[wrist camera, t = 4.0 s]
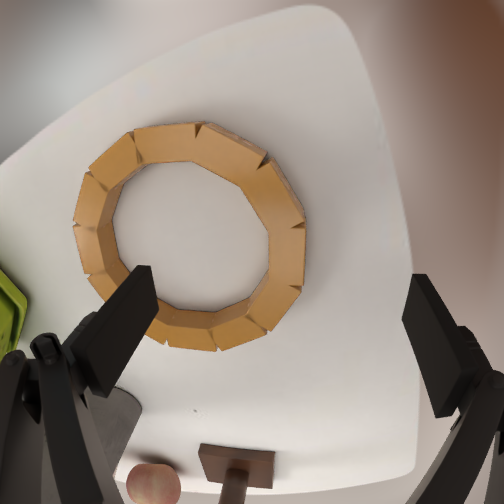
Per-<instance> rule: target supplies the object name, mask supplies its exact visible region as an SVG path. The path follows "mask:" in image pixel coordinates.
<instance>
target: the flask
mask: <svg viewBox="0 0 504 504" xmlns="http://www.w3.org/2000/svg"><path fill="white" fill-rule="evenodd" d="M84 393H85V395H86V396H87V400H88V404H89V407H90V411H91V414H92V418H93V421H94V424H95V427H96V431H97V434H98V437H99V440H100V443H101V446H102V449H103V451H104V454H105V457H106V460H107V462H108V465H109V468H110V470H111V473H112V475H113V474H114V471H115V469H116V467H117V465H118V463H119V460H120V458H121V456H122V454H123V452H124V450H125V447H126V445H127V443H128V441H129V439H130V437H131V434H132V432H133V430H134V428H135V426H136V424H137V422H138V419H139V417H140V415H141V413H142V409H141V407H140V405H139V403H138V401H137V400H136V399H135V398H134V397H133V396H131V395H130V394H128V393H127V392H124V391H122V390H120V389H117V388H113V389H112V391H111V393H110V395H109V396H108V398H103V397H99V396H95V395H92V393H91V391H90V389H89V387H88V386H87V388H86V389H85V391H84ZM41 504H61V501H60V497H59V494H58V490H57V486H56V482H55V478H54V474H53V470H52V465H51V460H50V456H49V451H48V445H47V440H46V434H44V445H43V459H42V483H41Z"/></svg>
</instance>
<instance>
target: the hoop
mask: <svg viewBox="0 0 504 504" xmlns="http://www.w3.org/2000/svg"><path fill="white" fill-rule="evenodd" d="M266 154H267V151H265V150H263V149H262V148H260V147H258V146H256V145H254V144H252V143H251V142H249V141H247V140H245V139H243V138H241V137H239V136H237V135H235V134H234V133H232V132H230V131H228V130H226V129H224V128H222V127H220V126H218V125H216V124H214V123H209V124H206V122H205V121H201V122H188V123H177V124H167V125H157V126H149V127H144V128H138V129H134V131H132V132H127V133H126V134H125V135H124V136H123V137H122V138H120V139H119V140H118V141H117V142H116V143H115V144H113V145H112V146H111V147H110V148H109V149H108V150H107V151H106V152H104V153H103V154H102V155H101V156H100V157H99V158H98V159H97V160H96V161H95V162H94V163H93V164H91V165H90V166H89V167H88V168H89V170H90V171H88V172H86V173H85V175H84V179H83V183H82V186H81V190H80V194H79V197H78V201H77V205H76V209H75V213H74V218H73V221H74V222H76V223H77V224H76V225H74V226H73V229H74V234H75V238H76V242H77V247H78V251H79V255H80V259H81V263H82V266H83V270H84V273H85V274H91V275H90V276H89V277H88V278H87V279H88V281H89V282H90V283H91V285H92V286H93V287H94V289H95V290H96V291H97V292H98V294H99V295H100V296H101V298H102V299H103V300H104V301H105V302H106V301H107V300H108V299H109V297H110V296H111V295H112V294H113V293H114V292H115V290H116V289H117V288H118V287H119V286H120V285H121V283H122V282H123V281H124V280H125V279H126V278H127V277H128V275H129V274H130V273H129V271H128V270H127V268H126V267H125V266H124V264H123V263H122V262H121V260H120V259H119V255H118V250H117V246H116V240H115V235H114V230H113V225H112V217H113V214H114V211H115V208H116V205H117V202H118V199H119V196H120V193H121V190H122V187H123V185H124V183H125V182H126V181H128V180H129V179H130V178H131V177H133V176H134V175H135V174H136V173H138V172H139V171H140V170H142V169H143V168H144V167H146V166H147V165H148V164H152V163H166V162H183V161H192V162H194V163H196V164H198V165H200V166H202V167H204V168H206V169H207V170H209V171H211V172H213V173H215V174H217V175H219V176H221V177H222V178H224V179H226V180H228V181H230V182H232V183H233V184H235V185H237V186H239V187H240V188H241V190H242V191H243V193H244V194H245V196H246V198H247V199H248V201H249V202H250V204H251V205H252V207H253V209H254V210H255V212H256V213H257V215H258V217H259V218H260V220H261V221H262V223H263V225H264V226H265V228H266V229H267V231H268V233H269V269H268V271H267V272H266V274H265V275H264V277H263V279H262V280H261V282H260V283H259V285H258V286H257V288H256V289H255V291H254V292H253V294H252V295H251V297H250V298H247V299H245V300H243V301H241V302H238V303H236V304H234V305H232V306H229V307H227V308H225V309H222V310H220V311H218V312H216V313H215V312H202V311H189V310H178V309H176V308H174V307H172V306H170V305H168V304H167V303H165V302H163V301H161V300H159V299H158V298H157V301H158V305H159V311H158V313H157V315H156V316H155V318H154V320H153V321H152V323H151V325H150V326H149V328H148V330H147V331H146V333H145V335H147V336H148V337H150V338H152V339H154V340H156V341H157V342H159V343H161V344H163V345H164V343H165V342H166V340H168V345H169V346H170V347H177V348H185V349H194V350H203V351H213V352H216V351H217V348H218V347H219V348H220V350H221V351H224V350H227V349H230V348H232V347H235V346H238V345H241V344H243V343H246V342H249V341H251V340H254V339H257V338H259V337H262V336H264V335H266V334H267V330H269V331H272V330H273V329H274V327H275V326H276V325H277V323H278V322H279V321H280V320H281V318H282V317H283V316H284V314H285V313H286V312H287V310H288V309H289V308H290V306H291V305H292V304H293V303H294V301H295V300H296V299H297V297H298V296H299V295H300V293H301V286H303V285H304V272H305V251H306V217H305V216H304V209H303V207H302V205H301V203H300V202H299V200H298V198H297V197H296V195H295V193H294V191H293V190H292V188H291V186H290V185H289V183H288V181H287V179H286V178H285V176H284V174H283V173H282V171H281V169H280V168H279V166H278V164H277V163H276V161H275V159H274V158H273V157H271V158H270V159H268V160H266V161H264V162H263V163H262V161H263V159H264V158H265V156H266Z"/></svg>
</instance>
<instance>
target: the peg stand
mask: <svg viewBox="0 0 504 504" xmlns="http://www.w3.org/2000/svg"><path fill="white" fill-rule="evenodd" d="M198 455H199V458H200V460H201V463H202V466H203V469H204V472H205V475H206V477H207V480H208V481H209V482H216V483H222V484H223V486H222V490H221V495H220V499H219V503H218V504H244V501H245V496H246V490H247V487H256V488H268V489H272V487H273V478H274V460H275V452H268V451H255V450H245V449H236V448H228V447H220V446H213V445H206V444H200V448H199V451H198Z"/></svg>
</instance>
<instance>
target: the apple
mask: <svg viewBox="0 0 504 504" xmlns="http://www.w3.org/2000/svg"><path fill="white" fill-rule="evenodd" d="M126 487H127V492H128V494H129V497H130V498H131V500H133V501H134V502H135V503H137V504H176V503H177V501H178V500H179V497H180V493H181V484H180V480H179V477H178V475H177V474H176V472H175V471H174V469H173V468H171V467H170V466H168V465H166V464H138V465H136V466H135V467H134V468H133V469H132V470H131V471H130V473H129V475H128V477H127V482H126Z"/></svg>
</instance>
